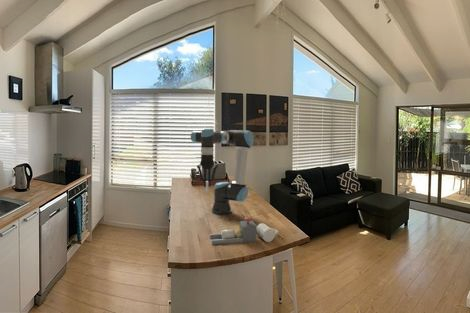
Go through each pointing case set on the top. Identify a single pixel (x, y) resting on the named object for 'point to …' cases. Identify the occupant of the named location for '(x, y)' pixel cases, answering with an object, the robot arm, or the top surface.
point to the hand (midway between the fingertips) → (206, 191)
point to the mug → (266, 232)
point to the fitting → (228, 234)
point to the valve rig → (238, 233)
